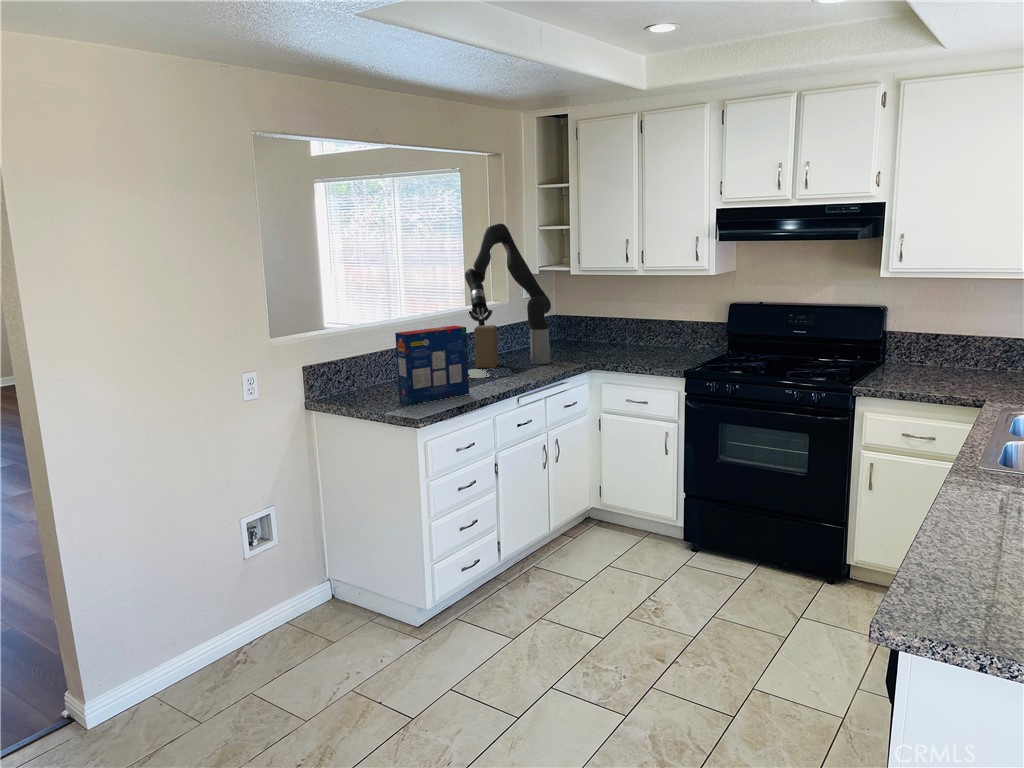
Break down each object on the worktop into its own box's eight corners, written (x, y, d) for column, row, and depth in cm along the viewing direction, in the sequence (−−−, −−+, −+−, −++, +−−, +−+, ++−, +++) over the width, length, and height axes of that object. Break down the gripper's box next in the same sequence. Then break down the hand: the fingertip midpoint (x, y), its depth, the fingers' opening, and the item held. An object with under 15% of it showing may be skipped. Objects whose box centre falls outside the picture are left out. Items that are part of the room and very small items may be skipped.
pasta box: (458, 391, 322) (455, 325, 317) (469, 394, 316) (466, 327, 310) (399, 402, 306) (395, 332, 300) (409, 405, 299) (405, 334, 294)
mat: (509, 367, 373) (509, 367, 373) (516, 376, 352) (516, 375, 352) (463, 370, 370) (463, 369, 370) (468, 379, 349) (468, 378, 349)
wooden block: (498, 365, 382) (496, 325, 378) (495, 368, 372) (494, 327, 368) (478, 365, 383) (476, 325, 379) (475, 369, 373) (473, 328, 369)
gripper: (465, 295, 393) (469, 322, 384) (491, 294, 395) (495, 321, 386) (465, 305, 400) (468, 331, 390) (490, 304, 401) (494, 330, 392)
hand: (482, 326), depth 388 cm, fingers closed
